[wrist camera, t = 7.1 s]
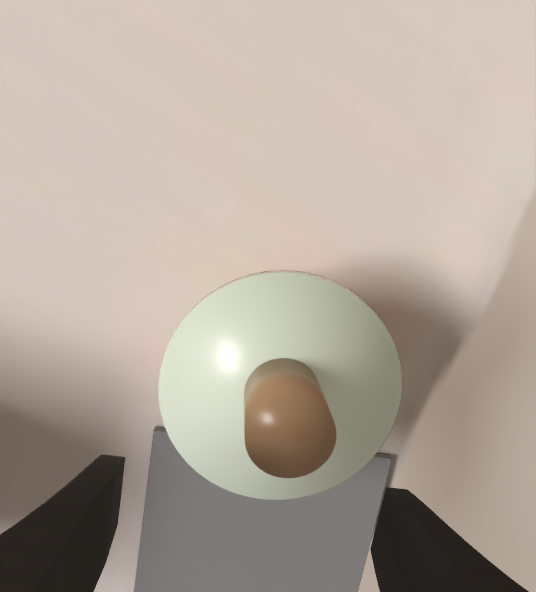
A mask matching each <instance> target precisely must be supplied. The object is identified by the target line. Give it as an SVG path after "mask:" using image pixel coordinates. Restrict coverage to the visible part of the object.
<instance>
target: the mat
mask: <svg viewBox="0 0 536 592" xmlns="http://www.w3.org/2000/svg"><path fill="white" fill-rule="evenodd" d="M391 460H392V458H391V457H390V455H389V454H381V453H376V454H375V455H374V457H373V458H372V459H371V460H370V461H369V462H368V463H367V464H366V465H365V466H364V467H363V468H362V469H360V470H359V471H358V472H356V473H355V474H354V475H353V476H351V477H350V478H348V479H346V480H345V481H343V482H341V483H340V484H338V485H336V486H334V487H332V488H330V489H327V490H325V491H323V492H319V493H316V494H313V495H310V496H305V497H301V498H296V499H285V500H265V499H258V498H251V497H247V496H243V495H239V494H236V493H233V492H231V491H228V490H226V489H223V488H221V487H219V486H217V485H216V484H214V483H212V482H210V481H208V480H207V479H206V478H204V477H203V476H202V475H200V474H199V473H197V472H196V471H195V470H194V469H193V468H192V467H191V466H190V465H189V464H188V463H187V462H186V461H185V460H184V459H183V457H182V456H181V455H180V454H179V452H178V451H177V450H176V448H175V446H174V445H173V443H172V441H171V440H170V438H169V436H168V433H167V431H166V429H165V428H164V427H156V426H155V429H154V434H153V442H152V451H151V459H150V467H149V475H148V483H147V491H146V499H145V508H144V516H143V524H142V532H141V540H140V548H139V557H138V565H137V573H136V581H135V589H134V592H358V589H359V585H360V581H361V577H362V573H363V570H364V566H365V561H366V558H367V554H368V550H369V546H370V542H371V538H372V534H373V531H374V527H375V523H376V519H377V515H378V511H379V507H380V503H381V499H382V495H383V492H384V488H385V484H386V480H387V476H388V472H389V468H390V464H391Z"/></svg>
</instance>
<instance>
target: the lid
mask: <svg viewBox="0 0 536 592" xmlns="http://www.w3.org/2000/svg"><path fill="white" fill-rule="evenodd" d="M401 395H402V371H401V363H400V359H399V356H398V352H397V348H396V346H395V344H394V341H393V339H392V337H391V335H390V333H389V331H388V330H387V328H386V326H385V325H384V323H383V322H382V320H381V319H380V318H379V317H378V316H377V314H376V313H375V312H374V311H373V310H372V309H371V308H370V307H369V306H368V305H367V304H366V303H365V302H364V301H362V300H361V299H360V298H359V297H358V296H357V295H356V294H354V293H353V292H351V291H350V290H348V289H347V288H345V287H344V286H342V285H340V284H338V283H336V282H334V281H332V280H329V279H327V278H324V277H321V276H318V275H315V274H310V273H305V272H300V271H285V270H281V271H266V272H261V273H256V274H251V275H247V276H244V277H241V278H238V279H235V280H233V281H231V282H229V283H227V284H225V285H223V286H221V287H219V288H218V289H216V290H214V291H213V292H211V293H210V294H208V295H207V296H206V297H204V298H203V299H202V300H201V301H200V302H199V303H198V304H196V305H195V306H194V307H193V308H192V309H191V311H190V312H189V313H188V314H187V315H186V316H185V317H184V319H183V320H182V322H181V323H180V325H179V326H178V328H177V329H176V331H175V333H174V335H173V337H172V339H171V341H170V343H169V345H168V347H167V349H166V352H165V355H164V358H163V361H162V364H161V369H160V375H159V383H158V398H159V406H160V412H161V416H162V420H163V423H164V426H165V429H166V431H167V433H168V436H169V438H170V440H171V441H172V443H173V445H174V446H175V448H176V450H177V451H178V452H179V454H180V455H181V456H182V457H183V459H184V460H185V461H186V462H187V463H188V464H189V465H190V466H191V467H192V468H193V469H194V470H195V471H196V472H197V473H199V474H200V475H202V476H203V477H204V478H206V479H207V480H208V481H210V482H212V483H214V484H216V485H217V486H219V487H221V488H223V489H226V490H228V491H231V492H233V493H236V494H239V495H243V496H247V497H251V498H258V499H265V500H285V499H296V498H301V497H305V496H310V495H313V494H316V493H319V492H323V491H325V490H327V489H330V488H332V487H334V486H336V485H338V484H340V483H341V482H343V481H345V480H346V479H348V478H350V477H351V476H353V475H354V474H355V473H356V472H358V471H359V470H360V469H362V468H363V467H364V466H365V465H366V464H367V463H368V462H369V461H370V460H371V459H372V458H373V457H374V455H375V454H376V453H377V452H378V450H379V449H380V448H381V447H382V445H383V444H384V442H385V440H386V439H387V437H388V435H389V434H390V432H391V429H392V427H393V425H394V423H395V420H396V417H397V414H398V410H399V407H400V401H401Z"/></svg>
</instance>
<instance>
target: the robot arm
mask: <svg viewBox="0 0 536 592" xmlns="http://www.w3.org/2000/svg"><path fill="white" fill-rule="evenodd" d="M124 463H125V457H118V456H109V455H101V456H99V457H98V458H96V459H95V460H94V461H93V462H92V463H91V464H90V465H89V466H88V467H86V468H85V469H84V470H83V471H82V472H81V473H80V474H79V475H77V476H76V477H75V478H74V479H73V480H72V481H70V482H69V483H68V484H67V485H66V486H65V487H63V488H62V489H61V490H60V491H58V492H57V493H56V494H55V495H53V496H52V497H51V498H50V499H49V500H47V501H46V502H45V503H44V504H42V505H41V506H40V507H38V508H37V509H36V510H34V511H33V512H31V513H30V514H29V515H27V516H26V517H25V518H23V519H22V520H21V521H19V522H18V523H17V524H15V525H14V526H12V527H11V528H9V529H8V530H6V531H5V532H3V533H2V534H0V592H93V591H94V589H95V587H96V584H97V582H98V580H99V577H100V575H101V573H102V570H103V568H104V566H105V563H106V560H107V557H108V554H109V551H110V547H111V544H112V541H113V538H114V534H115V531H116V528H117V524H118V516H119V508H120V499H121V490H122V481H123V472H124ZM371 554H372V559H373V564H374V568H375V573H376V577H377V581H378V586H379V589H380V592H528V591H527V590H526V589H524V588H523V587H521V586H520V585H519V584H517V583H516V582H515V581H513V580H512V579H511V578H510V577H508V576H507V575H506V574H504V573H503V572H502V571H501V570H499V569H498V568H497V567H496V566H495V565H493V564H492V563H491V562H490V561H488V560H487V559H486V558H485V557H484V556H482V555H481V554H480V553H479V552H478V551H477V550H475V549H474V548H473V547H472V546H471V545H469V544H468V543H467V542H466V541H465V540H464V539H463V538H462V537H460V536H459V535H458V534H457V533H456V532H455V531H454V530H452V529H451V528H450V527H449V526H448V525H447V524H446V523H445V522H444V521H443V520H441V519H440V518H439V517H438V516H437V515H436V514H435V513H434V512H433V511H432V510H431V509H429V508H428V507H427V506H426V505H425V504H424V503H423V502H422V501H420V500H419V499H418V498H417V497H416V496H415V495H413V494H412V493H411V492H410V491H408V490H405V489H397V488H388V487H386V491H385V495H384V499H383V503H382V506H381V510H380V514H379V518H378V522H377V526H376V530H375V534H374V537H373V541H372V545H371Z"/></svg>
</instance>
